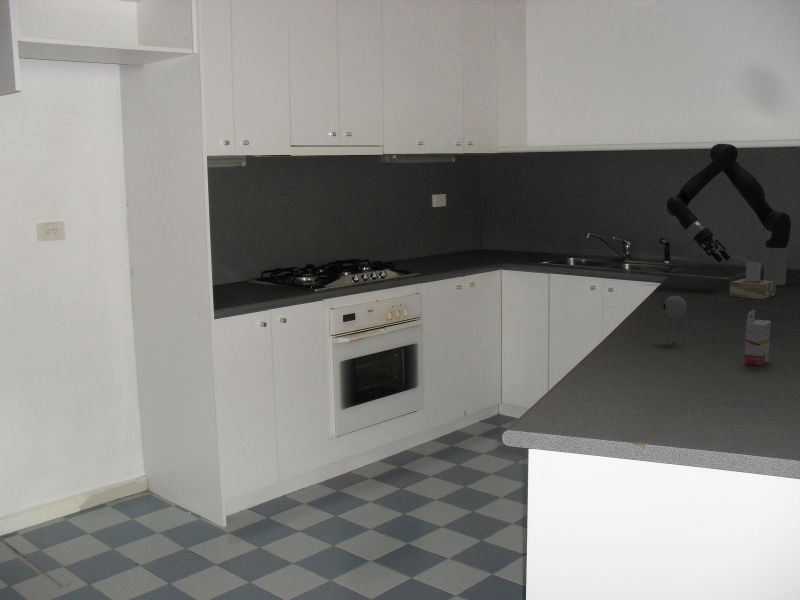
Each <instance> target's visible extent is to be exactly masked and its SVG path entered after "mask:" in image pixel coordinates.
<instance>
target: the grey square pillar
mask: <svg viewBox="0 0 800 600" xmlns="http://www.w3.org/2000/svg"><path fill="white" fill-rule="evenodd" d="M745 264H746V265H745V279H746V282H750V283H760V280H761V271H762V270H761V269H762V267H761V264H762V263H761V262H754V261H748V262H746V263H745Z"/></svg>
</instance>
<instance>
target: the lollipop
mask: <svg viewBox="0 0 800 600" xmlns="http://www.w3.org/2000/svg"><path fill="white" fill-rule="evenodd" d="M662 308H663V311H664V313H665V315H666V316H667V317H669V318H671V319H673V322H672V323H673V326H672V327H673V328H672V343H673V342H675V343H676V322H677V321H676V320H677V319H679V318H681V317H683V316H684V315H685V313H686V312H687V309H688V306H687V302H686V300H685V299H684V298H683V297H682V296H679V295H671V296H668V297H666V298H665V300H664V302H663V307H662Z"/></svg>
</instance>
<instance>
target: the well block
mask: <svg viewBox="0 0 800 600" xmlns="http://www.w3.org/2000/svg"><path fill="white" fill-rule="evenodd" d="M776 286H777V285H776V281H767V280H764V279H763V280H762V279H760V283H750V282H746V278H740V279H737V280H734V281H730V282H729V297H733V298H734V297H735V298H746V299H747V298H748V299H758V300H764V299H767V298H771V297H773V296H775V295H776Z"/></svg>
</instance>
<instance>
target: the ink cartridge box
mask: <svg viewBox="0 0 800 600" xmlns="http://www.w3.org/2000/svg"><path fill="white" fill-rule="evenodd" d="M755 315H756V309H752V310H751V311H749V312H748V313H747V316H746V323H745V341H744V342H745V343H744V365H749V366H750V365H752V366H756V367H757V366H758V367H759V366H760V367H762V366H764V365H765V364H766V363H767V362H768V361H769V355H770V354H769V353H770V342H771V341H770V340H771V338H770V337H771V323H772V320H765V319H763V320H762V319H755Z"/></svg>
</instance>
